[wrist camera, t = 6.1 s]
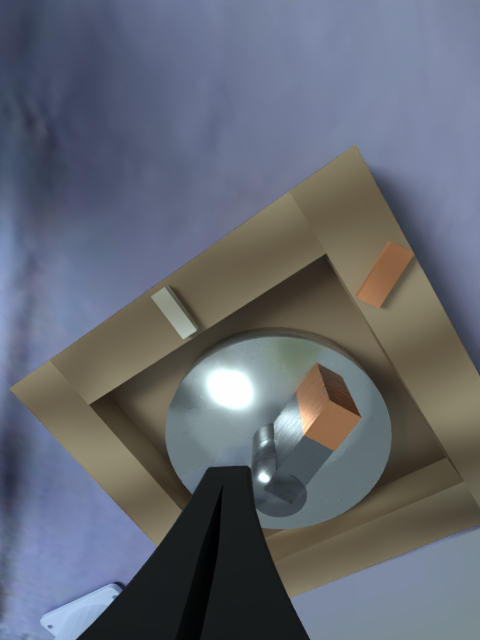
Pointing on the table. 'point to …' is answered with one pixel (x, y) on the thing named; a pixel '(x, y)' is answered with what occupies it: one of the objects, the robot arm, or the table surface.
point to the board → (299, 313)
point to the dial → (282, 423)
